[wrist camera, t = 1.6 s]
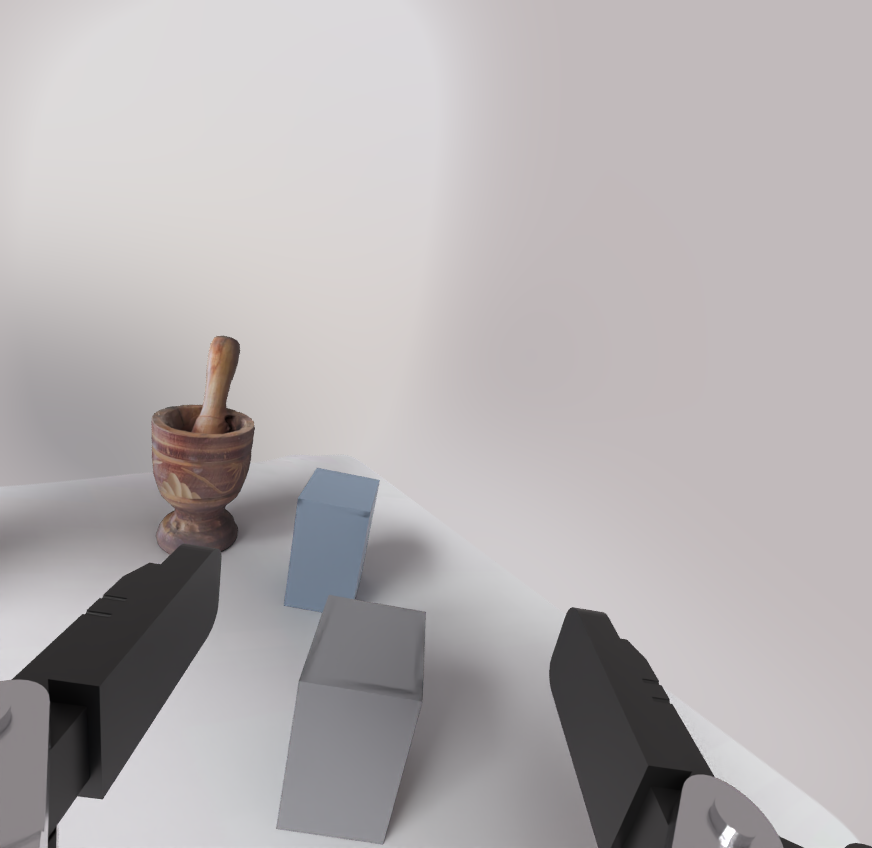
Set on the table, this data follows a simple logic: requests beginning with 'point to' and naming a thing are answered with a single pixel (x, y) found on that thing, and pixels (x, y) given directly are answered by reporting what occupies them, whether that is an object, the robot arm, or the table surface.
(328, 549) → the light blue box
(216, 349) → the mortar and pestle
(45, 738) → the robot arm
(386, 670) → the cover
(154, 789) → the table surface
